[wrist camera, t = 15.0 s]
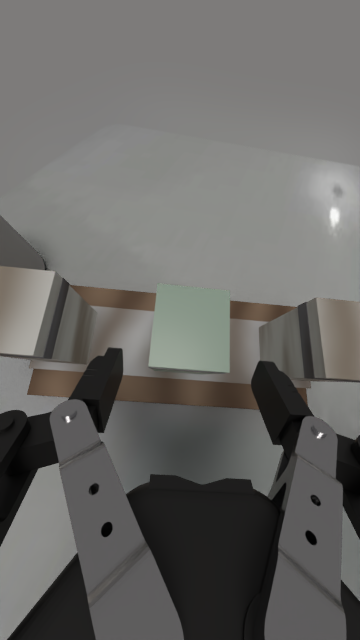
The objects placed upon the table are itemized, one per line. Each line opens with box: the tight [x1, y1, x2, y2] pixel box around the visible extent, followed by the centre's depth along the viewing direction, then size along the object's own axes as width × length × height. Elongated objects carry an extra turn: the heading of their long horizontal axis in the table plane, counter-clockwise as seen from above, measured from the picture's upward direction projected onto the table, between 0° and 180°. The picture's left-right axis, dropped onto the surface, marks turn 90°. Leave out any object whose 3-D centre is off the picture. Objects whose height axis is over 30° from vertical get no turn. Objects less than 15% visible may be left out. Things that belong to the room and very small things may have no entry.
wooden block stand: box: [0, 266, 360, 409], centre depth 18 cm, size 29×12×11 cm, turn 86°
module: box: [148, 283, 230, 375], centre depth 17 cm, size 5×6×9 cm
